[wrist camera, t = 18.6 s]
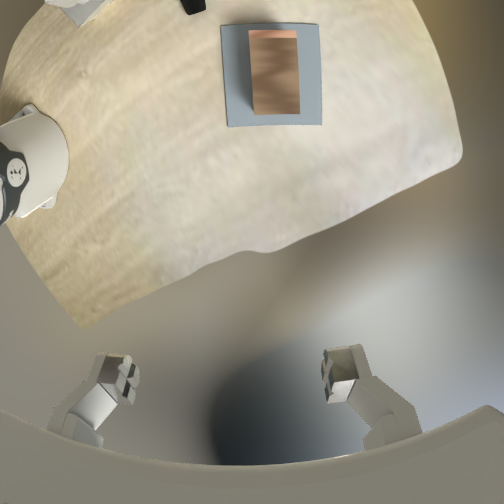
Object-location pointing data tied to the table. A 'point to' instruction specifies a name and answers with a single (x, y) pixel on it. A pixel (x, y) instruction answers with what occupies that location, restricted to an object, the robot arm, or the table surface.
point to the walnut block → (274, 72)
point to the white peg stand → (80, 9)
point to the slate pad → (241, 77)
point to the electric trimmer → (193, 6)
